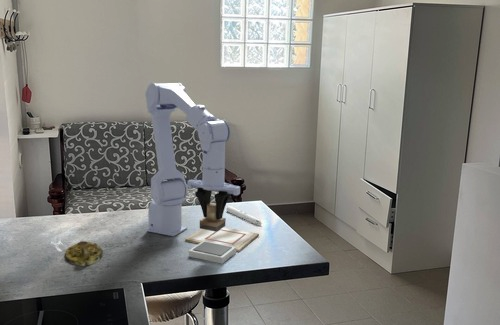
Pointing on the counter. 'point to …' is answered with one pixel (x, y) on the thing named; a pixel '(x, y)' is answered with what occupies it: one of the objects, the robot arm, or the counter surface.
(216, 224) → the stamp
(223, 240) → the wooden board
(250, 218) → the marker
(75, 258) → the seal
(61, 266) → the counter surface
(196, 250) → the ink pad
